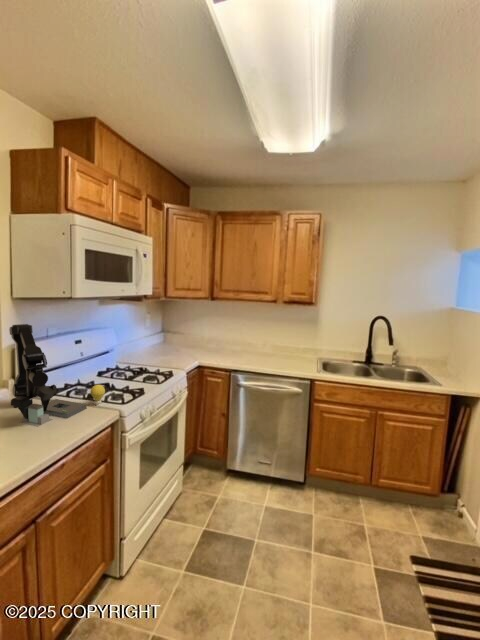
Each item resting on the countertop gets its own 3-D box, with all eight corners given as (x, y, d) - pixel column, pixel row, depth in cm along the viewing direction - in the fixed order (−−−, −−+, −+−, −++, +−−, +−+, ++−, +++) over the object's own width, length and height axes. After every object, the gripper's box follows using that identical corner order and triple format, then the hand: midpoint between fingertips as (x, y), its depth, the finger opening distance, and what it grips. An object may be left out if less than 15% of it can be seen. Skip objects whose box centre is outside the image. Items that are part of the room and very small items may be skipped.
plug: (28, 421, 152) (28, 405, 151) (34, 418, 155) (34, 403, 154) (37, 423, 151) (37, 407, 150) (43, 420, 153) (43, 405, 152)
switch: (35, 413, 162) (35, 407, 161) (56, 404, 173) (55, 398, 173) (67, 420, 157) (67, 413, 156) (86, 410, 168) (86, 403, 167)
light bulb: (100, 407, 172) (99, 387, 170) (87, 406, 173) (87, 386, 172) (107, 402, 178) (107, 383, 177) (96, 401, 179) (95, 382, 178)
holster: (19, 424, 150) (18, 416, 150) (35, 417, 158) (34, 409, 157) (37, 428, 148) (37, 419, 147) (53, 421, 155) (52, 412, 155)
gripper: (30, 389, 139) (32, 426, 141) (66, 376, 157) (67, 409, 159) (8, 385, 142) (10, 422, 144) (46, 373, 160) (47, 406, 162)
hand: (36, 414), depth 152 cm, fingers open, 9 cm apart
